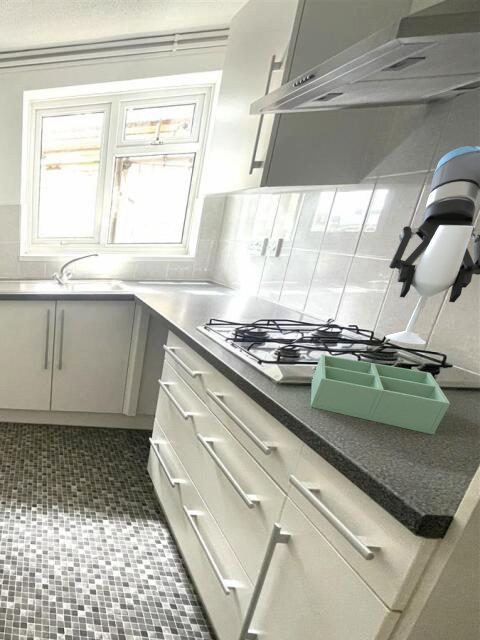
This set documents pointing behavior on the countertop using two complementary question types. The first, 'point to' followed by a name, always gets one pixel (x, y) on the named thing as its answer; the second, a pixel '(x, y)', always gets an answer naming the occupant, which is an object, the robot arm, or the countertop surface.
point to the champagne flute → (436, 272)
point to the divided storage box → (378, 393)
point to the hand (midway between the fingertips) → (429, 295)
